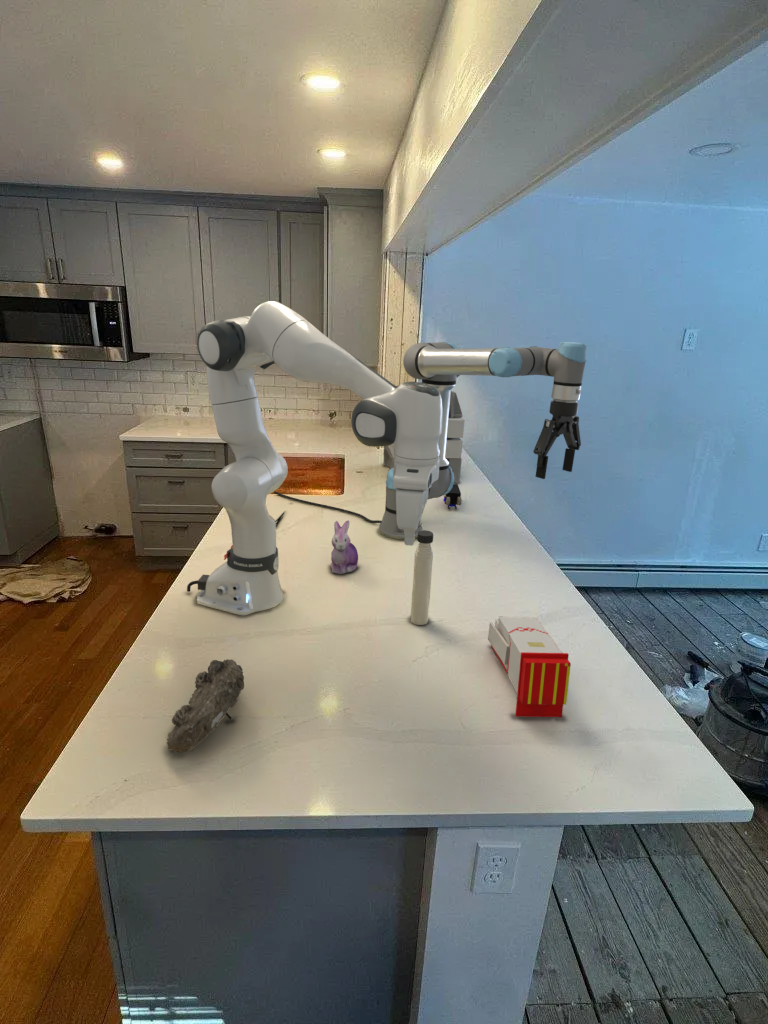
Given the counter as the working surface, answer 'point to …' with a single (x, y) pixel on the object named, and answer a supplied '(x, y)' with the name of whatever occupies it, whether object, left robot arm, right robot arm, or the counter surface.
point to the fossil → (206, 705)
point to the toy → (531, 665)
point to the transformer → (452, 442)
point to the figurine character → (453, 497)
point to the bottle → (421, 584)
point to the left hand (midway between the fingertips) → (412, 535)
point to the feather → (279, 519)
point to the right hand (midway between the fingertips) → (553, 474)
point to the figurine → (343, 550)
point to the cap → (425, 537)
